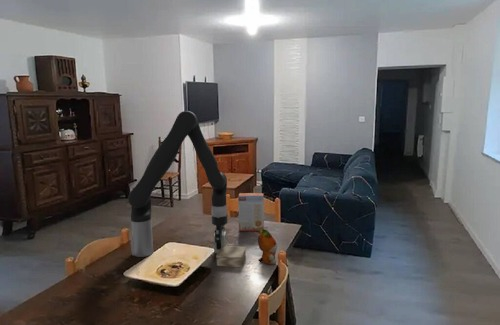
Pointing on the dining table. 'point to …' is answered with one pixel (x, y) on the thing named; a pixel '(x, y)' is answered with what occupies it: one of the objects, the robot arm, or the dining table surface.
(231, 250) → the beige box
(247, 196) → the cracker box
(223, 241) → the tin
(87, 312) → the dining table surface
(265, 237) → the toy
